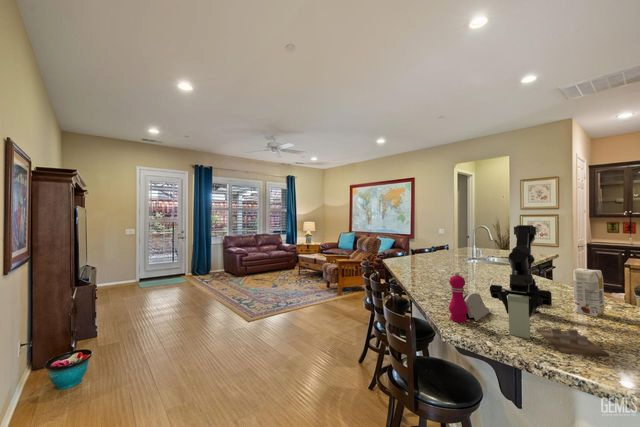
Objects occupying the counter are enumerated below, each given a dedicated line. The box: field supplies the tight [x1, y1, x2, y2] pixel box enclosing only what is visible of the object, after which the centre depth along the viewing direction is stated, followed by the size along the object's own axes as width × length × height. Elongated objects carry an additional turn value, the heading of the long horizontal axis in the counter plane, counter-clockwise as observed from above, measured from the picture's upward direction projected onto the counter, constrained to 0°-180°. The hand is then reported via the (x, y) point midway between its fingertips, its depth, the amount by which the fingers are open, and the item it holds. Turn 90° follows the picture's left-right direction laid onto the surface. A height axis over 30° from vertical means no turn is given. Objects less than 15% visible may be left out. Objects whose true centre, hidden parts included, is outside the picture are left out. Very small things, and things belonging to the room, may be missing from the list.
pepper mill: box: [448, 271, 468, 323], centre depth 120 cm, size 7×7×20 cm
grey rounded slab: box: [463, 292, 491, 322], centre depth 127 cm, size 17×5×10 cm, turn 132°
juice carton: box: [572, 267, 605, 318], centre depth 124 cm, size 8×9×19 cm
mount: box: [535, 327, 610, 358], centre depth 97 cm, size 18×12×3 cm, turn 164°
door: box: [507, 294, 531, 339], centre depth 104 cm, size 3×6×14 cm, turn 50°
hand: (518, 314), depth 103 cm, fingers open, 6 cm apart
